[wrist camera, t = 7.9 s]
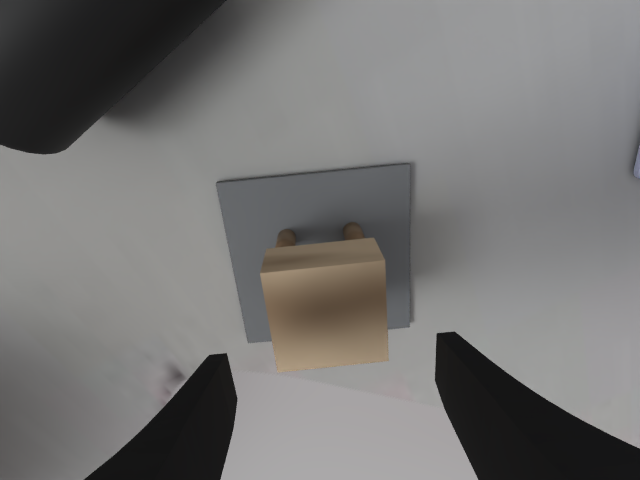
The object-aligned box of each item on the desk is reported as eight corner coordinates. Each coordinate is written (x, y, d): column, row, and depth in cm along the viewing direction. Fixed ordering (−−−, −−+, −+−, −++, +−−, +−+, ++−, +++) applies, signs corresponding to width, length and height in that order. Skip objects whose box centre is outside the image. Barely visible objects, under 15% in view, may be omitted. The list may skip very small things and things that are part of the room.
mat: (408, 163, 19) (409, 164, 18) (408, 323, 22) (409, 327, 22) (217, 181, 19) (215, 183, 18) (248, 339, 22) (248, 343, 22)
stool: (368, 297, 21) (388, 360, 16) (284, 306, 21) (277, 372, 16) (364, 217, 19) (385, 260, 14) (272, 227, 19) (260, 273, 14)
